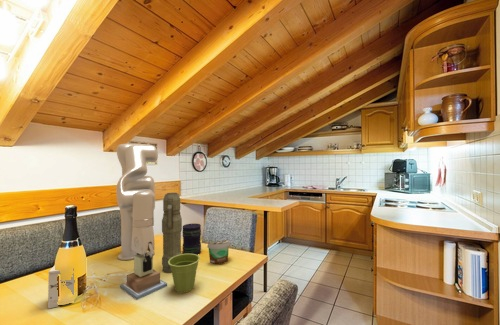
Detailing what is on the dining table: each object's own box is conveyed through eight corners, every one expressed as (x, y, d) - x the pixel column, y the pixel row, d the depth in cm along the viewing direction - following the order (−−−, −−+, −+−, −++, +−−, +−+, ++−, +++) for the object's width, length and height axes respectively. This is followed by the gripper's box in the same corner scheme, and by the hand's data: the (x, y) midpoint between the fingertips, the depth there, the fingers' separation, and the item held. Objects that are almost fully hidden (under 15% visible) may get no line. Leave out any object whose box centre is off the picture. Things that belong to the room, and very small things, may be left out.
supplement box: (47, 309, 77) (47, 271, 77) (55, 298, 84) (55, 263, 84) (74, 304, 80) (74, 267, 80) (80, 293, 87) (80, 259, 87)
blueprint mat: (119, 287, 90) (119, 284, 90) (149, 275, 100) (149, 273, 100) (136, 299, 82) (136, 296, 82) (167, 285, 91) (167, 283, 91)
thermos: (160, 276, 100) (160, 195, 100) (163, 265, 111) (162, 192, 112) (182, 273, 102) (181, 194, 103) (182, 262, 113) (181, 191, 114)
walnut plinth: (126, 285, 90) (126, 275, 90) (148, 276, 97) (148, 267, 97) (137, 292, 84) (137, 281, 85) (160, 283, 92) (160, 272, 92)
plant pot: (164, 287, 90) (164, 258, 91) (193, 278, 97) (192, 251, 98) (174, 300, 81) (173, 268, 81) (205, 289, 88) (204, 260, 88)
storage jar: (178, 253, 125) (178, 226, 125) (192, 248, 133) (192, 222, 133) (191, 257, 119) (190, 228, 120) (204, 252, 127) (204, 224, 128)
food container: (214, 268, 107) (214, 246, 107) (207, 264, 111) (207, 243, 112) (235, 260, 115) (235, 240, 115) (228, 257, 120) (227, 237, 120)
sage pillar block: (134, 273, 91) (134, 255, 91) (146, 268, 94) (146, 251, 95) (140, 276, 87) (140, 258, 88) (152, 272, 91) (152, 254, 92)
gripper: (123, 221, 94) (124, 266, 93) (144, 228, 83) (145, 278, 83) (142, 218, 100) (142, 260, 99) (163, 223, 89) (164, 271, 89)
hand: (143, 268), depth 91 cm, fingers open, 5 cm apart
